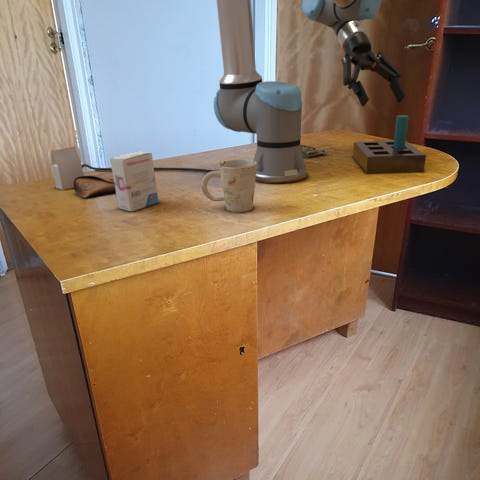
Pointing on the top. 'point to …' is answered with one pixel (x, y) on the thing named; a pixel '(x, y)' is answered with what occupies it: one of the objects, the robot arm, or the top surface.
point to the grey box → (66, 167)
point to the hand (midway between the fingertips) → (384, 101)
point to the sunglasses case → (94, 185)
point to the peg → (400, 132)
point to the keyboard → (310, 151)
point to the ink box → (134, 180)
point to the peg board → (388, 157)
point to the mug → (234, 184)
